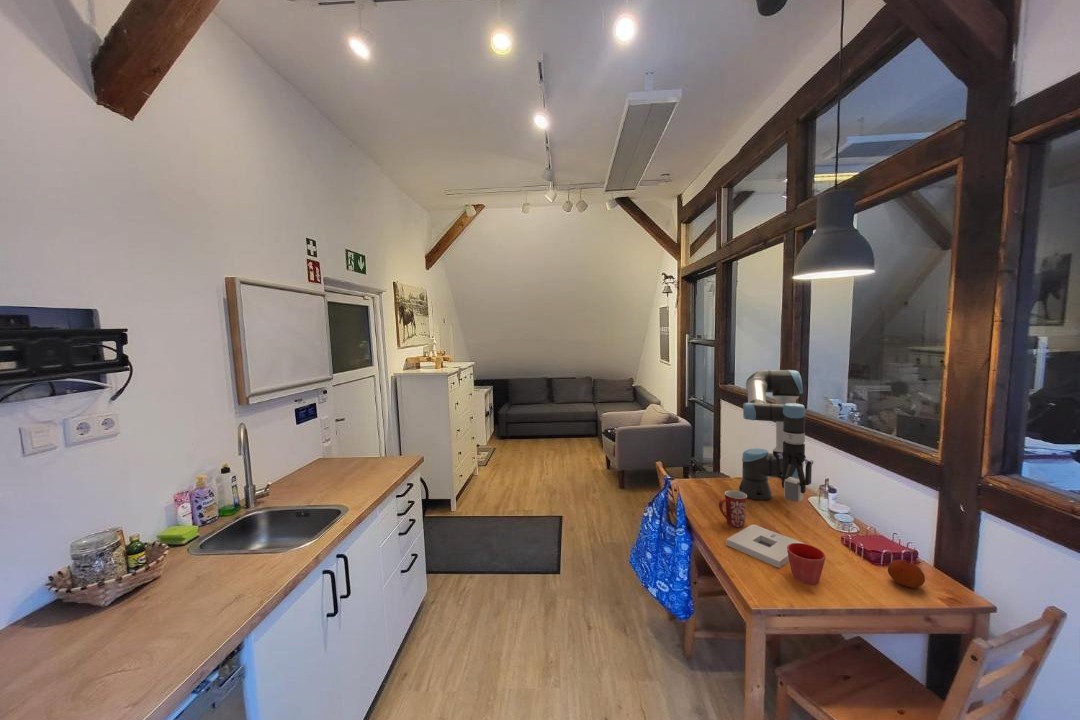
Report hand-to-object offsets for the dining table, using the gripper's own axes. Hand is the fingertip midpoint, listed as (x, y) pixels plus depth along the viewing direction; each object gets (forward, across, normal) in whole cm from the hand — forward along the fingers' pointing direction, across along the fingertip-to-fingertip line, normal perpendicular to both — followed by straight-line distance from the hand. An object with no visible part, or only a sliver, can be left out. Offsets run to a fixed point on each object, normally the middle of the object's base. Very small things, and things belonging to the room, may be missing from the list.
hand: (793, 497), depth 163 cm
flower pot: (+16, +15, -26) cm, 34 cm away
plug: (0, 0, 0) cm, 0 cm away
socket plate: (+16, -3, -17) cm, 24 cm away
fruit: (+16, +36, -4) cm, 40 cm away
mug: (+17, -21, -9) cm, 28 cm away
